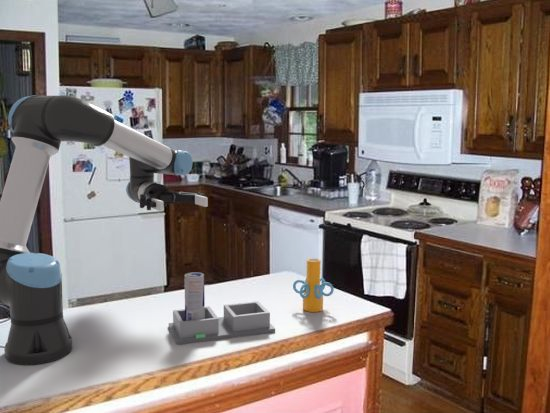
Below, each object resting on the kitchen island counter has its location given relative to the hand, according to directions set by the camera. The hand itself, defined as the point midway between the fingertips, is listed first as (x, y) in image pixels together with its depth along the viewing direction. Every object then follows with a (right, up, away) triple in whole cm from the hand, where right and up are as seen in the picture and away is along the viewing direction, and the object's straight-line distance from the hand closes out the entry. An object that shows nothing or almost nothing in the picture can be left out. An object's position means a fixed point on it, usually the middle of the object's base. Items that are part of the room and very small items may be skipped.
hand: (185, 204), depth 162 cm
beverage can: (+4, -33, -9) cm, 35 cm away
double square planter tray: (+11, -34, -7) cm, 36 cm away
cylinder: (+36, -31, +10) cm, 49 cm away
